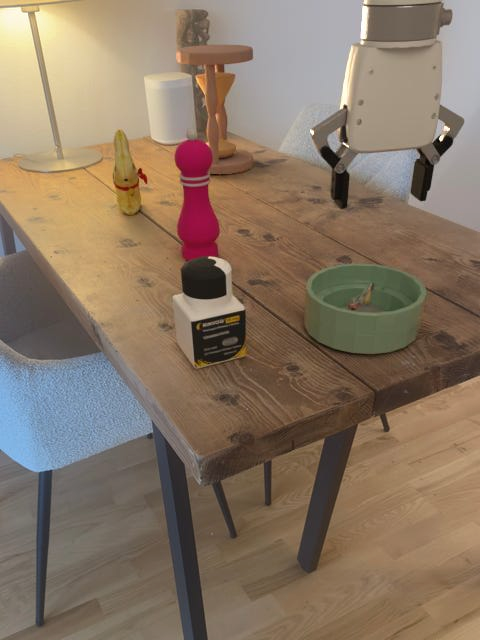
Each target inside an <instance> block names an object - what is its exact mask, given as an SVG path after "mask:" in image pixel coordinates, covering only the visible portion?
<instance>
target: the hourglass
mask: <svg viewBox="0 0 480 640" xmlns="http://www.w3.org/2000/svg"><path fill="white" fill-rule="evenodd" d="M175 56H176V62H177V63H180V64H184V65H191V66H192V65H193V66H204V73H199V74H197V75H195V79H196V82H197V85H198V86H199V87H200V89H201V91H202V92H203V94H204V104H205V107H206V110H207V114H208V118H207V124H206V138H207V142H205V143H206V144H207V145H208V146H209V147H210V149H211V151H212V156H213V162H212V165H211V167H210V168H209V170H208V172H209V173H210V174H219V175H218V176H221V175H220V174H228V175H233V174H232V173H235V174H239V173H238V172H240V173H243V172H242V171H244V172H246V171H248V169H249V170H251V169H252V168H253V167H254V165H255V164H254V162H255V161H254V155H253V153H251V152H249V151H247V150H243V149H238V148H237V144H235V143H233V142H231V141H228V138H227V137H228V134H227V131H228V114H227V110H226V107H225V102H226V97H227V96H228V94H229V92H230V90H231V88H232V86H233V84H234V83H235V79H236V74H235V73H230V72H225V71H226V70H225V65H234V64H242V63H246V62H250V61H253V59H254V49H253V47H252V46H250V45H249V46H248V45H242V44H203V45H192V46H191V45H189V46H183V47H181V48H180V47H179V48H177V49H176V51H175ZM245 170H246V171H245Z"/></svg>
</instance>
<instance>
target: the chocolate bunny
mask: <svg viewBox="0 0 480 640" xmlns="http://www.w3.org/2000/svg"><path fill="white" fill-rule="evenodd" d="M113 145H114V146H113V147H114V161H113V170H112V182H113V185H114V189H115V194H116V202H117V204H118V206H119V209H120V210H121V212H122V213H124V214H126V215H127V216H134V215H135V214H136V213H138V212H139V210H140V208H141V205H142V195H141V188H140V179H141V180H143V182H144V183H145V185H148V177H147V175H146V174H145V173H144V172H143V168H142V167H139V168H138V169H137V167H136V164H135V162H134V159H133V157H132V154H131V151H130V145H129V139H128V137H127V135H126V132H124V131H123V130H122V129H117V130H116V131H115V133H114V137H113Z"/></svg>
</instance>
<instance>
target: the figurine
mask: <svg viewBox="0 0 480 640" xmlns="http://www.w3.org/2000/svg"><path fill="white" fill-rule="evenodd" d="M374 285H375V284H374V283H371V284H370V288H368V290H366V289H364V290H365V292H364V291H363V292H364V294H365V293H366V291H367V292H368V293H367V294H366V296H365V297H364V296H363V295H364V294H363V293H362V294H363V295H362V294H361V295H362V296H361V297H360V298H359V300H356V298H355V299H353V298H354V297H353V298H352V299H353V302H354V300H356V301H357V302H354V303H352V302H351V303H350V304H349V306H348V309H349V310H351V311H356V312H371V313H378V312H380V308H379V307H378V306H376V305H374V304H371V303H370V301H371V291H374ZM370 290H371V291H370ZM358 296H359V295H358ZM356 297H357V296H356ZM360 301H361V302H360ZM359 302H360V303H359Z"/></svg>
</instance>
